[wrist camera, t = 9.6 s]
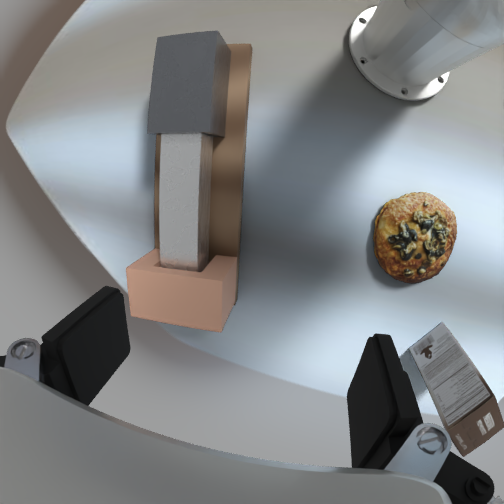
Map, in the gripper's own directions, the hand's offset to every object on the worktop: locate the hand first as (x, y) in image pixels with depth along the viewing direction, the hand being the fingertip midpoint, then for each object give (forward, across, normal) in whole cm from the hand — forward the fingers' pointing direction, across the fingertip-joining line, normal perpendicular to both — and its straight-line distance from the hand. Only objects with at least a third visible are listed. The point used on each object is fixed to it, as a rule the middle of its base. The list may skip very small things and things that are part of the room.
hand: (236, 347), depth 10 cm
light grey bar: (+21, +10, 0) cm, 23 cm away
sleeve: (+23, +10, -12) cm, 28 cm away
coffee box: (+24, -25, +16) cm, 38 cm away
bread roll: (+25, -16, 0) cm, 29 cm away
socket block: (+22, +9, +8) cm, 25 cm away
